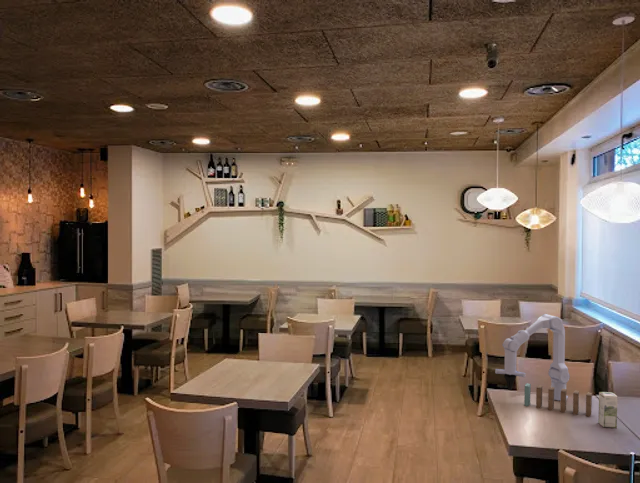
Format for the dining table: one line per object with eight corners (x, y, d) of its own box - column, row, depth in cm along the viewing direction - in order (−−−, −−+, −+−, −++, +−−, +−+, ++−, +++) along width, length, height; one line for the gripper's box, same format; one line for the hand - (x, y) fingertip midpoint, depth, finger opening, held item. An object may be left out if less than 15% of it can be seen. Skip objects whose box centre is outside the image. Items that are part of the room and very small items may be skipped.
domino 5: (574, 410, 262) (574, 390, 261) (578, 411, 261) (579, 391, 260) (572, 413, 257) (573, 393, 257) (577, 414, 256) (577, 393, 256)
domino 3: (549, 406, 267) (550, 386, 267) (554, 407, 266) (554, 387, 266) (548, 409, 263) (548, 389, 263) (552, 410, 262) (552, 390, 262)
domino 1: (526, 402, 273) (526, 383, 273) (530, 403, 272) (530, 383, 272) (524, 405, 269) (524, 385, 268) (528, 406, 268) (528, 386, 267)
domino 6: (586, 412, 259) (587, 392, 258) (591, 413, 258) (591, 392, 257) (585, 416, 254) (586, 394, 254) (590, 416, 253) (590, 395, 253)
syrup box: (611, 423, 245) (612, 391, 245) (617, 428, 239) (617, 395, 239) (598, 422, 245) (598, 391, 245) (603, 427, 240) (604, 395, 239)
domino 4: (561, 408, 264) (562, 388, 264) (566, 409, 263) (566, 389, 263) (560, 411, 260) (560, 391, 260) (564, 412, 259) (565, 391, 259)
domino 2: (537, 404, 270) (538, 385, 270) (542, 405, 269) (542, 385, 269) (536, 407, 266) (536, 387, 265) (540, 408, 265) (540, 388, 264)
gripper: (494, 362, 274) (493, 388, 275) (524, 366, 267) (523, 393, 267) (497, 359, 280) (496, 385, 281) (526, 363, 273) (526, 390, 273)
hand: (510, 389), depth 274 cm, fingers closed
